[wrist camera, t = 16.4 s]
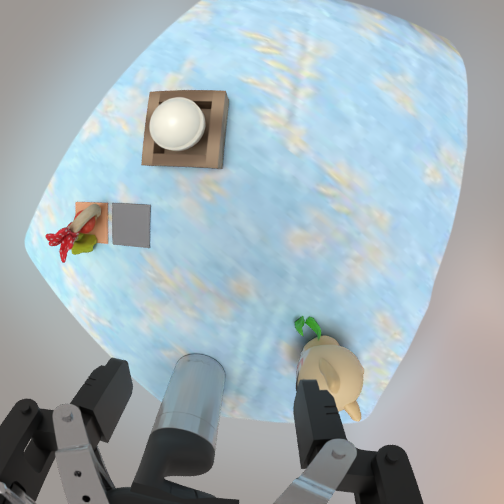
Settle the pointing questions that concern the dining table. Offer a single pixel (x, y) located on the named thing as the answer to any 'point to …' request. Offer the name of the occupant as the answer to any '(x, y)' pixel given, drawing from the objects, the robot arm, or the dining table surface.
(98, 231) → the tile
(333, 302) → the dining table surface
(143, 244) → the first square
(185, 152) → the button frame
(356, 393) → the kitten
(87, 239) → the bird rattle
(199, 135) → the dome button
